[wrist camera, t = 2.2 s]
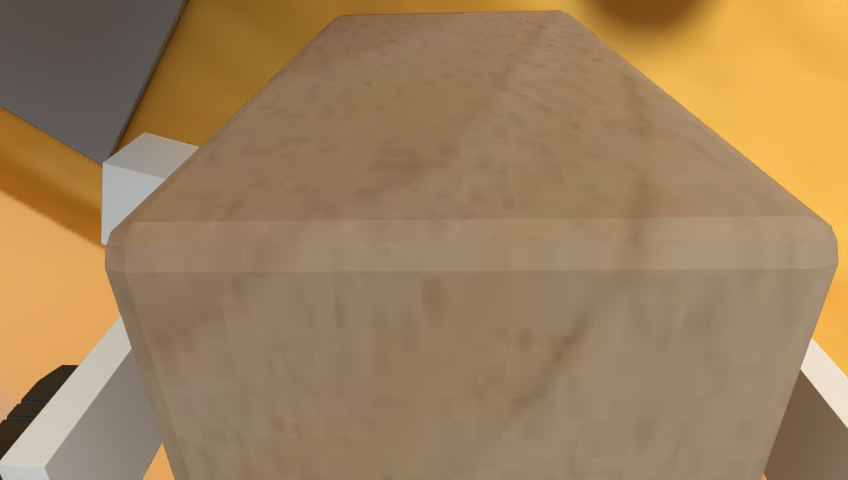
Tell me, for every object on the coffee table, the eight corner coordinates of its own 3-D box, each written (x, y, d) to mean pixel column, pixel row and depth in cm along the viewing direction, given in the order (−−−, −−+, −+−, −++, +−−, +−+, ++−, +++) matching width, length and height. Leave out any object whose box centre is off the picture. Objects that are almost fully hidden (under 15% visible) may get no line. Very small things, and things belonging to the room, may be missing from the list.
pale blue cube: (145, 131, 28) (102, 162, 25) (229, 154, 29) (199, 188, 25) (141, 205, 30) (101, 243, 27) (220, 225, 30) (191, 265, 27)
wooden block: (352, 223, 30) (222, 657, 13) (332, 13, 25) (77, 240, 8) (551, 222, 30) (706, 667, 12) (570, 8, 25) (870, 233, 7)
